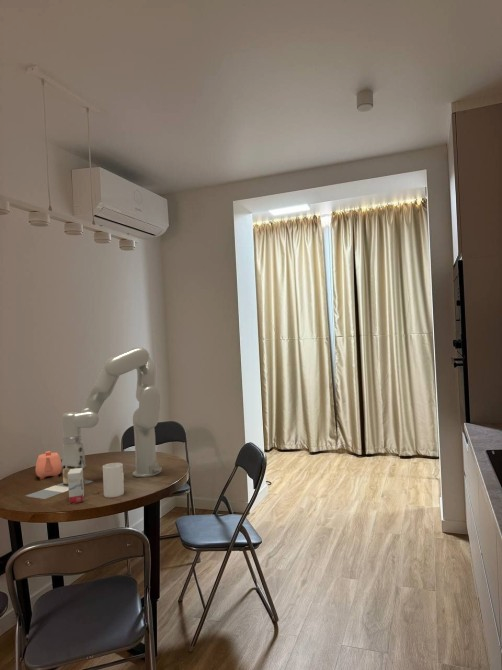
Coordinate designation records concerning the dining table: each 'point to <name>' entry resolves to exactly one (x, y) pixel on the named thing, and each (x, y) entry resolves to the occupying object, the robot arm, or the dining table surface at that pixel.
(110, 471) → the mug
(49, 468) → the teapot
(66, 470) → the block
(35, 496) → the grey board
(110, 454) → the dining table surface
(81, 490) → the ink box
